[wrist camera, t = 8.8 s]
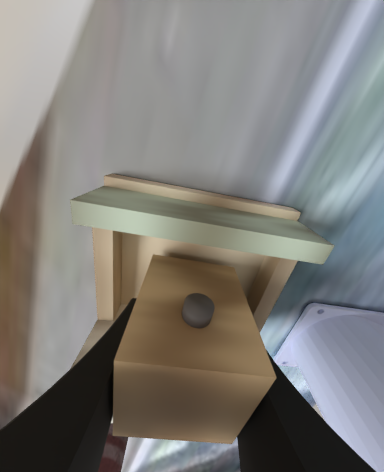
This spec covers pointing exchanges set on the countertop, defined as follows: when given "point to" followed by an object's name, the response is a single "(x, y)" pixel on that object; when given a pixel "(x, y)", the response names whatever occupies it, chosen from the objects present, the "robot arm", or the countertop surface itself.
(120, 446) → the can
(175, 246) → the wooden cubby shelf
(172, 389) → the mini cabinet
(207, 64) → the countertop surface
